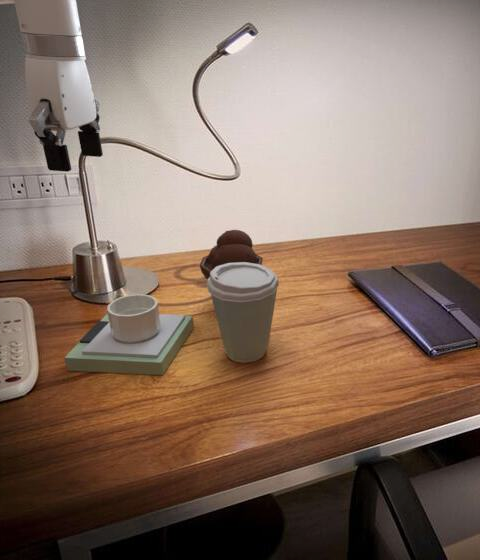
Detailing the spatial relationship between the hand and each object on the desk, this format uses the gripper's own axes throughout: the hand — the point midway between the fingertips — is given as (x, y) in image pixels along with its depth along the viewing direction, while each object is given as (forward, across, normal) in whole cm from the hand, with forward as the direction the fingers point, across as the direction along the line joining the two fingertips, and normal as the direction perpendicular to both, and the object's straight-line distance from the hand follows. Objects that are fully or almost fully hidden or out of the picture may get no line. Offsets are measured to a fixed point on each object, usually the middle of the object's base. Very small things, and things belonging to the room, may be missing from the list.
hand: (77, 162), depth 85 cm
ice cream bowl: (+26, -2, +23) cm, 35 cm away
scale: (+26, +13, +11) cm, 31 cm away
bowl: (+23, +13, +12) cm, 29 cm away
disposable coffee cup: (+26, +13, +29) cm, 41 cm away
